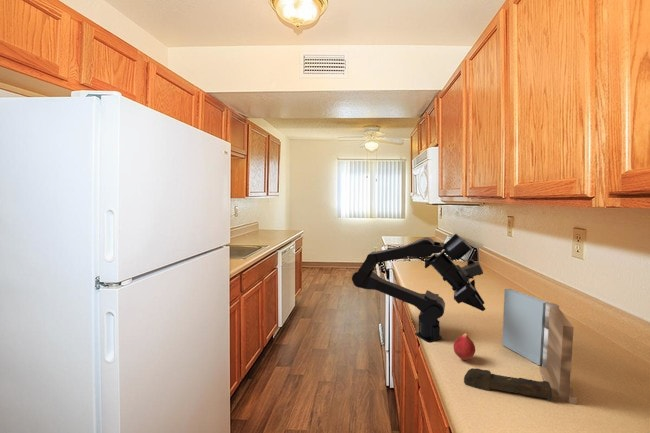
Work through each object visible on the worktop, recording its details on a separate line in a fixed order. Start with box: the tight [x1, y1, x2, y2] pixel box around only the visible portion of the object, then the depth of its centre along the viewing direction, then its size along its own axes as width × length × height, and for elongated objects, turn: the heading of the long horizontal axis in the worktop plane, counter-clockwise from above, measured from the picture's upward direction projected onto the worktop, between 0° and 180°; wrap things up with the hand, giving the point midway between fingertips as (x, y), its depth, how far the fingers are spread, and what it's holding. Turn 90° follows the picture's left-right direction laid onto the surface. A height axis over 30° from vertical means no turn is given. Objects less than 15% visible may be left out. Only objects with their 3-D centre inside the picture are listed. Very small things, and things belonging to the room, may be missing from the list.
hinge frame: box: [539, 302, 578, 406], centre depth 84 cm, size 5×16×18 cm, turn 157°
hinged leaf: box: [501, 288, 550, 366], centre depth 97 cm, size 3×16×18 cm, turn 17°
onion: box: [453, 333, 476, 361], centre depth 96 cm, size 6×6×8 cm
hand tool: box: [463, 368, 552, 402], centre depth 82 cm, size 19×4×5 cm, turn 70°
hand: (483, 306), depth 104 cm, fingers open, 5 cm apart
